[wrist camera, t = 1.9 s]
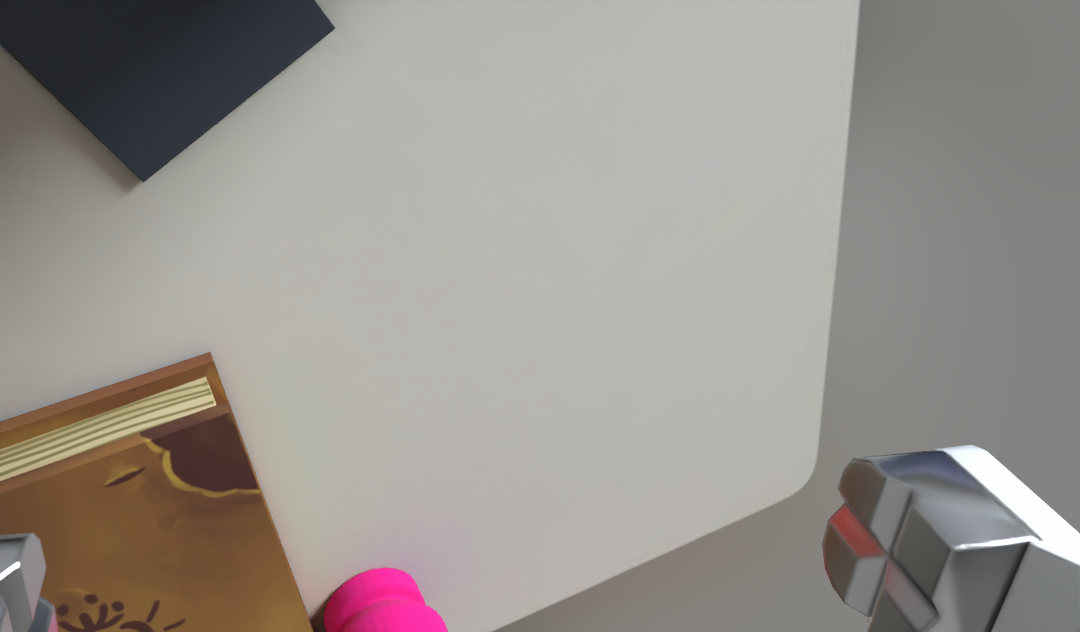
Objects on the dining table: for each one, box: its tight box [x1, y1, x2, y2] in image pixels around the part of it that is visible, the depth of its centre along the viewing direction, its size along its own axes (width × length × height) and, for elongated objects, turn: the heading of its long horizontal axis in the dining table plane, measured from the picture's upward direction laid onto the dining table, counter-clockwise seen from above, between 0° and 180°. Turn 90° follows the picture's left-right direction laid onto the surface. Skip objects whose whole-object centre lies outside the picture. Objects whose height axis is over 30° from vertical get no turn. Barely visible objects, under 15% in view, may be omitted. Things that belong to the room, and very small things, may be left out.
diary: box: [0, 352, 314, 632], centre depth 48 cm, size 23×19×6 cm
